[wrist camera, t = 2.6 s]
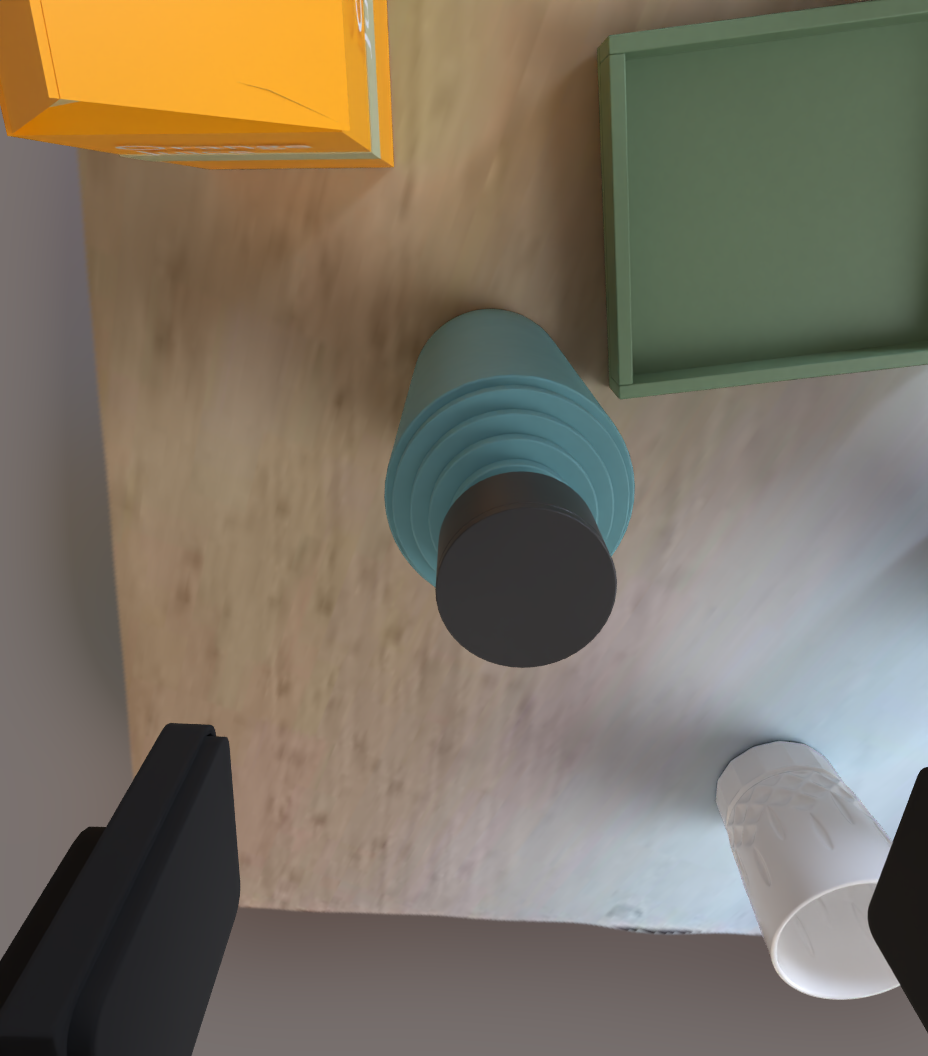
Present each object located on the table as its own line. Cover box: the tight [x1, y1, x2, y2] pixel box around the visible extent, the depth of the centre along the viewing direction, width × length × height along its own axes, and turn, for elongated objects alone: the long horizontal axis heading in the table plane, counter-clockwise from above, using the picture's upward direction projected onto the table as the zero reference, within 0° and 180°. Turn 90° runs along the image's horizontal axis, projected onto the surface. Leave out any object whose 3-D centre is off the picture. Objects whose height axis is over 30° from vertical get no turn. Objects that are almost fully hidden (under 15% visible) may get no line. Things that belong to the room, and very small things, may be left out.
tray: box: [597, 0, 928, 399], centre depth 30 cm, size 13×15×2 cm
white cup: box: [716, 741, 900, 1000], centre depth 38 cm, size 8×8×10 cm
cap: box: [436, 471, 617, 668], centre depth 17 cm, size 4×4×2 cm
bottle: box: [385, 309, 635, 587], centre depth 25 cm, size 7×7×19 cm
